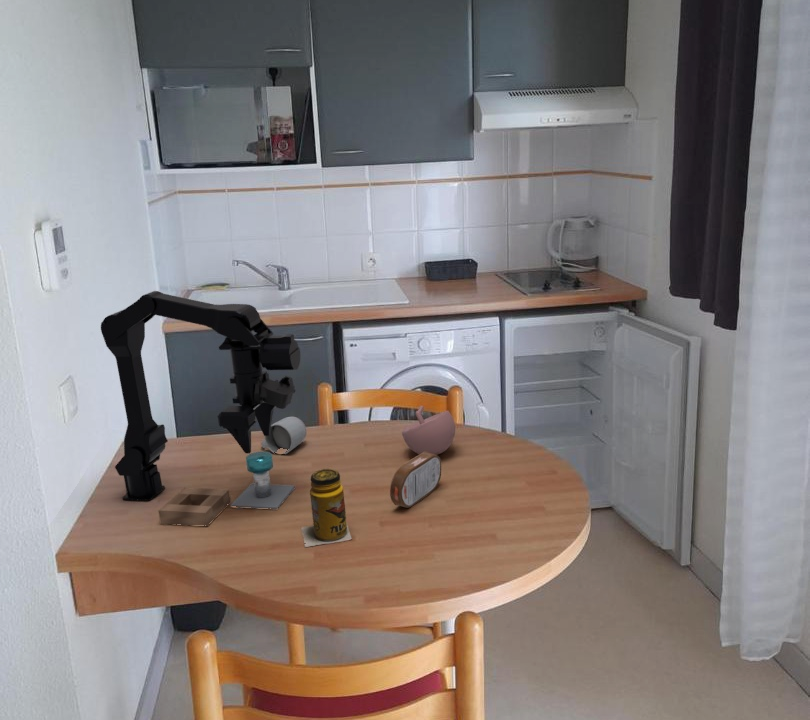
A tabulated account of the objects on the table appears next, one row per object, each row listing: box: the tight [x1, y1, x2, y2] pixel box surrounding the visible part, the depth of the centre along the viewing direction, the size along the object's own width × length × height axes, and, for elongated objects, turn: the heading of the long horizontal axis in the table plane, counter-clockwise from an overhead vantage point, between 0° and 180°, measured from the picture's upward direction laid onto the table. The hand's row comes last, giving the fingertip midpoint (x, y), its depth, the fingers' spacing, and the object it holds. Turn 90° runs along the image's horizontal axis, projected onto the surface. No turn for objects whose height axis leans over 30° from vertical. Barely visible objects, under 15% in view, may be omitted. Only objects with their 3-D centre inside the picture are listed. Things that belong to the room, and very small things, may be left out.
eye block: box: [158, 487, 232, 527], centre depth 148 cm, size 10×10×3 cm
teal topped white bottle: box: [245, 451, 274, 498], centre depth 153 cm, size 5×5×8 cm
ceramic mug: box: [260, 416, 307, 455], centre depth 178 cm, size 11×8×8 cm
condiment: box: [300, 468, 353, 548], centre depth 136 cm, size 7×8×12 cm
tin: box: [389, 452, 442, 509], centre depth 148 cm, size 15×3×8 cm, turn 145°
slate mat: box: [230, 483, 296, 509], centre depth 154 cm, size 10×10×1 cm
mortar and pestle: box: [401, 405, 456, 456], centre depth 168 cm, size 12×12×12 cm
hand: (257, 444), depth 150 cm, fingers open, 9 cm apart
